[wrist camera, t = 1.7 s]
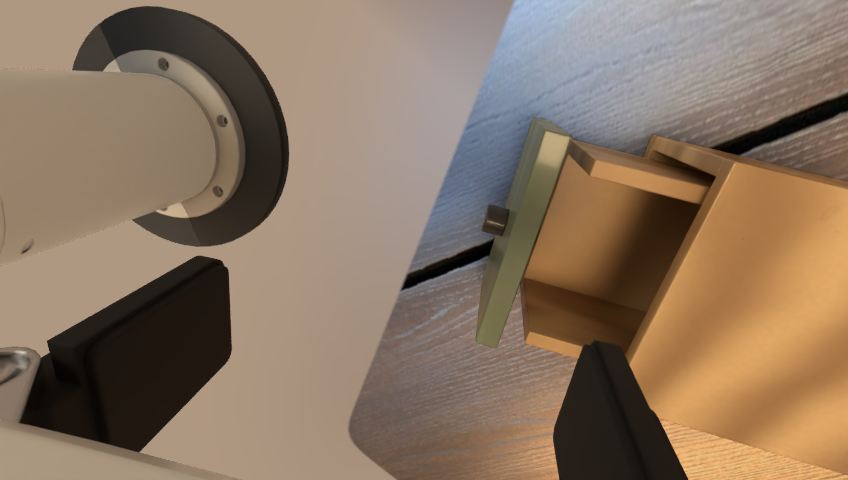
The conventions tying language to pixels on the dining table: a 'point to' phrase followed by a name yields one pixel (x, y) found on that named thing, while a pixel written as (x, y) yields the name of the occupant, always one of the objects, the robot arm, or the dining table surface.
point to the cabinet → (754, 311)
